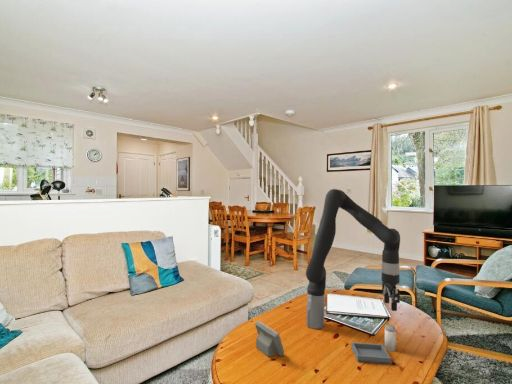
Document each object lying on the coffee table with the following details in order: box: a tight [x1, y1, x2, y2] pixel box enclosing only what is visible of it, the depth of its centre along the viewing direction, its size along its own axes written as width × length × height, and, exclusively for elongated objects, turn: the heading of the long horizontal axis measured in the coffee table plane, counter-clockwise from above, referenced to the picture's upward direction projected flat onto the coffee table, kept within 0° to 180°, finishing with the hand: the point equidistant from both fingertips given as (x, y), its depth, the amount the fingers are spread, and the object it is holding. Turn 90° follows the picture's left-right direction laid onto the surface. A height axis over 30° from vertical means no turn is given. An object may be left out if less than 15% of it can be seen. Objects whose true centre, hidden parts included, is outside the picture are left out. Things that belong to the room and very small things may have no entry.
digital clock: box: [254, 320, 285, 358], centre depth 121 cm, size 16×9×11 cm, turn 25°
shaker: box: [384, 324, 397, 352], centre depth 123 cm, size 5×5×10 cm
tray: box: [350, 341, 392, 365], centre depth 118 cm, size 14×11×2 cm
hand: (390, 306), depth 124 cm, fingers open, 8 cm apart
